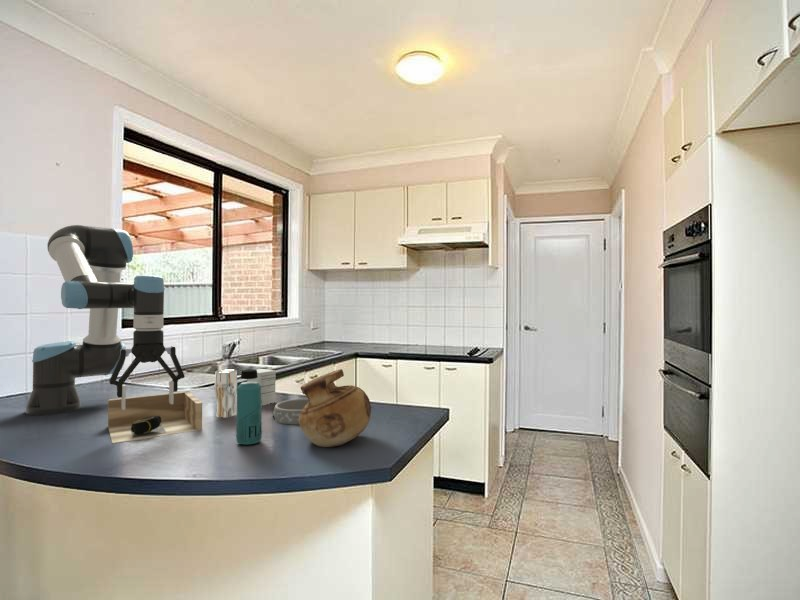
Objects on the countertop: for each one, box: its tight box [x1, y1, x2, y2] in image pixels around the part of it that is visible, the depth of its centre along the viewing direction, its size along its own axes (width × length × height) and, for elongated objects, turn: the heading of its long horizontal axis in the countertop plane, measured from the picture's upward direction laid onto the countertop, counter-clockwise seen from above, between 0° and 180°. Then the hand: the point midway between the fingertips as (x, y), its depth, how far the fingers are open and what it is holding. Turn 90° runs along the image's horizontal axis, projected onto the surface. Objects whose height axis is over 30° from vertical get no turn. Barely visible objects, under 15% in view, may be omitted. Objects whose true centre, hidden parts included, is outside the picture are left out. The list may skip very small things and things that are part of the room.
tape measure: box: [131, 416, 161, 434], centre depth 126 cm, size 7×7×4 cm
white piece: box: [214, 369, 238, 418], centre depth 147 cm, size 7×7×15 cm
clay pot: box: [298, 369, 372, 448], centre depth 119 cm, size 19×19×20 cm
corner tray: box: [107, 390, 203, 444], centre depth 132 cm, size 20×22×8 cm
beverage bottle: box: [235, 368, 263, 445], centre depth 118 cm, size 6×7×20 cm
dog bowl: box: [272, 398, 309, 425], centre depth 145 cm, size 17×18×5 cm
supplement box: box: [246, 368, 277, 407], centre depth 164 cm, size 7×7×13 cm
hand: (147, 406), depth 129 cm, fingers open, 11 cm apart
